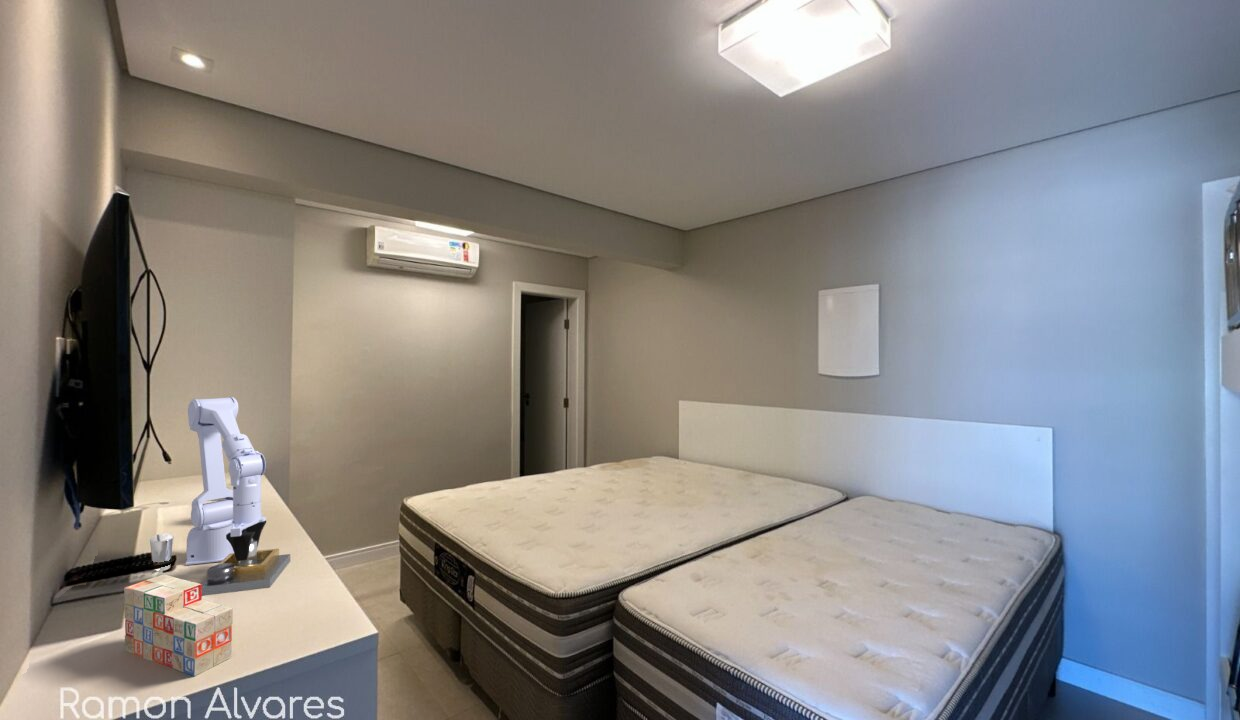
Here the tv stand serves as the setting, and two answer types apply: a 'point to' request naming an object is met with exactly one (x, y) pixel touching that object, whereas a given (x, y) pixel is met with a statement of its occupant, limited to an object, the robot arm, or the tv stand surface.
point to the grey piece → (245, 573)
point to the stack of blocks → (176, 625)
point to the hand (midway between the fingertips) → (246, 555)
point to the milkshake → (162, 548)
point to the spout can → (251, 557)
